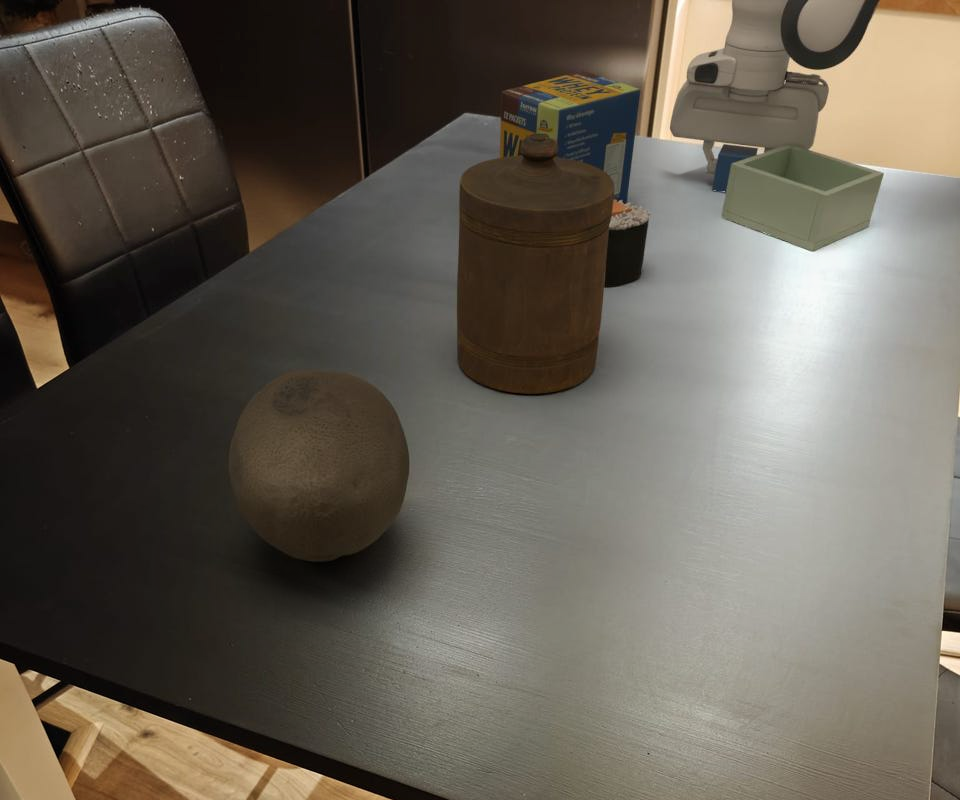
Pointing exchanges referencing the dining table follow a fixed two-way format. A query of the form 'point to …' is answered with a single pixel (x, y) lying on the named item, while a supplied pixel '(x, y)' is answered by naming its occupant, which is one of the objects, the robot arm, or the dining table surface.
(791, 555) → the dining table surface
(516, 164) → the wooden container
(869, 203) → the green storage bin
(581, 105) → the protein box
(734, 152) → the block
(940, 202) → the dining table surface
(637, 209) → the sushi
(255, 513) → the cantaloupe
